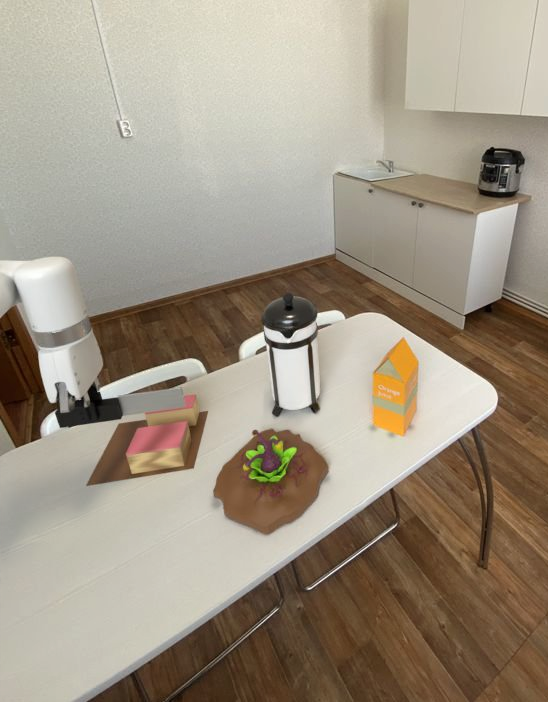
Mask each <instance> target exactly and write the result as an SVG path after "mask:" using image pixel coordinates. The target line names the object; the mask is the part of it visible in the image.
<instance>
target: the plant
mask: <svg viewBox="0 0 548 702" xmlns="http://www.w3.org/2000/svg"><path fill="white" fill-rule="evenodd" d="M251 436H253V437H252V438H251V439H250V440H249V441H248V442H247V443H246V444H245V445H244V446H242V447H241V448H240V449H239V450H238V451H237V452H236V453H235V454H234V455H233V456H232V457H231V458H230V460H228V461H227V462H225V463H224V464H223V465H222V467H221V470H220V472H219V473H218V475H217V477H216V480H215V485H214V488H213V490H212V493H213V497H214V498H216V499H219V500H220V501H221V502H222V506H223V512H224V516H225V518H227V519H228V520H231V521H234V522H236V523H238V524H240V525H243V526H245V527H248V528H250V529H252V530H253V531H256V532H258V533H260V534H263V535H266V536H268V535H270V534H272V533H274V532H276V531H277V530H278V529H280V528H281V527H283V526H285V525H289V524H292V523H294V522H295V521H297V520H298V519H299V518H300V517H302V515H303V514H304V513H305V512H306V511H307V510H308V509H309V508H310V506H311V505H312V504H313V503H314V502H315V501H316V499H318V497H319V490H320V486H321V484H322V482H323V480H324V478H325V477H326V476H327V474H328V473H329V464H328V463H327V461H326V460H325V458H324V457H323V455H321V454H320V453H319V452H318V451H317V450H316V448H315V447H314V446H313V445H312V444H311V443H309V442H307V441H304V440H303V439H302V437H301V434H300V433H293V432H292V430H289V429H284V430H281V431H280V430H279V431H276V430H275V429H274V428H269V429H266V430H262V431H260V432H259V430H258V429H253V430H252V432H251Z"/></svg>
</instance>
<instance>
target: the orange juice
mask: <svg viewBox="0 0 548 702" xmlns="http://www.w3.org/2000/svg"><path fill="white" fill-rule="evenodd" d="M419 363H420V362H419V359H418V358H417V356H416V354H415V353H414V351H413V350H412V348H411V346H410V345H409V343H408V342H407V341H406V338H405V337H404V336H403V337H402V338H401V339H400V340H399V341H397V342H396V344H394V346H393V347H392V348H391V349H389V351H387V353H386V354H385V356H384V357H383V358H382V360H381V362H380V363H379V364H378V366H377V367H376V368H375V369H374V371H373V372H372V425H373V426H375V427H377V428H379V429H382V430H385V431H387V432H390V433H392V434H395V435H398V436H401V437H404V436H405V434H406V432H407V431H408V428H409V427H410V424H411V422H412V420H413V418H414V416H415V414H416V412H417V405H418V404H417V403H418V387H419V385H418V384H419V382H418V381H419Z"/></svg>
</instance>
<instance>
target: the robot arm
mask: <svg viewBox="0 0 548 702" xmlns="http://www.w3.org/2000/svg"><path fill="white" fill-rule="evenodd" d="M20 303H22V306H23V309H24V312H25V315H26V317H27V320H28V322H29V325H30V328H31V331H32V334H33V337H34V339H35V342H36V345H37V347H38V349H39V350H38V354H37V355H38V365H39V371H40V377H41V379H42V385H43V387H44V391H45V394H46V397H47V400H48V401H49V403H50V404H56V403H57V402H58V400H59V406H60V412H61V413H66V412H71V411H72V410H73V412H74V415H75V418H76V421H77V423H78V424H79V425H78V426H82V425H81V424H85V425H88V424H87V423H92V424H95V423H94V422H97V421H98V415H97V412H96V409H95V406H94V403H93V402H91V403H90V401H94V400H100V399H103V396H102V393H101V391H100V390H101V385H100V381H99V378H100V376H99V374H100V373H101V372H102V370H103V367H104V360H103V356H102V353H101V349H100V346H99V343H98V341H97V338H96V335H95V334H94V330H93V327H92V323H91V319H90V317H89V312H88V309H87V306H86V303H85V299H84V295H83V292H82V289H81V285H80V281H79V279H78V276H77V272H76V268H75V266H74V264H73V262H72V261H71V260H70V259H68V258H67V257H65V256H46V257H40V258H35V259H32V260H11V259H10V260H9V259H0V319H2V317H3V316H4V315H5V314H6V313H7V312H8V311H9V310H10V309H11V308H13V307H15V306H16V305H18V304H20Z"/></svg>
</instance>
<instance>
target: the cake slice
mask: <svg viewBox="0 0 548 702" xmlns="http://www.w3.org/2000/svg"><path fill="white" fill-rule="evenodd" d="M184 399H185V404H186V407H182V408H175V409H168V410H161V411H154V412H147V413H144V416H145V420H147V423H148V427H149V426H156V425H163V424H170V423H177V422H184V421H187V422H188V426H194V425H196V423H197V420H198V416H199V413H200V412H201V411H200V408H199V403H198V399H197V394H196V393H195V394H189V395H184Z"/></svg>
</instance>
